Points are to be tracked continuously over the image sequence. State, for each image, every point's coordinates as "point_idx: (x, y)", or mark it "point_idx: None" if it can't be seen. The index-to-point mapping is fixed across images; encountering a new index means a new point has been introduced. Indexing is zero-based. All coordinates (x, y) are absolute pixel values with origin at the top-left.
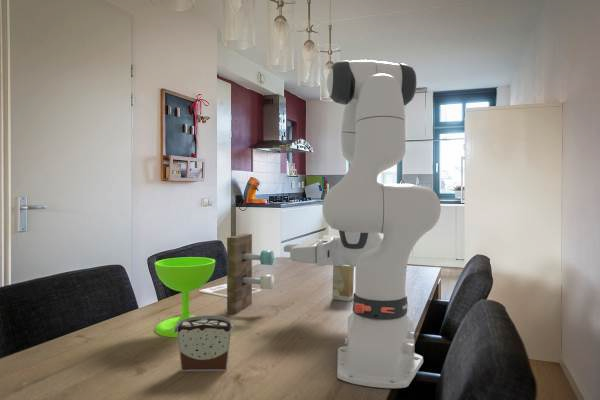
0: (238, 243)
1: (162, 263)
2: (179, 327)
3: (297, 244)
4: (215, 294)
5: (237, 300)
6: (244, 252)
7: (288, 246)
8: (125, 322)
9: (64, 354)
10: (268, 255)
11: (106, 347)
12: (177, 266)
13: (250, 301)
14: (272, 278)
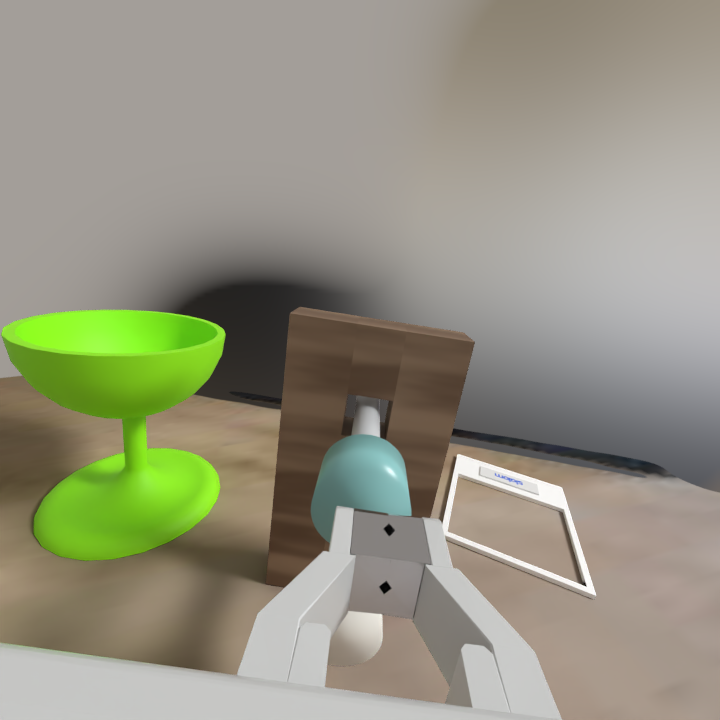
0: (312, 345)
1: (173, 323)
2: None
3: (489, 642)
4: (450, 487)
5: (281, 550)
6: (392, 404)
7: (329, 546)
8: (210, 415)
9: (42, 398)
10: (320, 481)
11: (48, 423)
12: (30, 320)
13: None
14: (356, 623)
